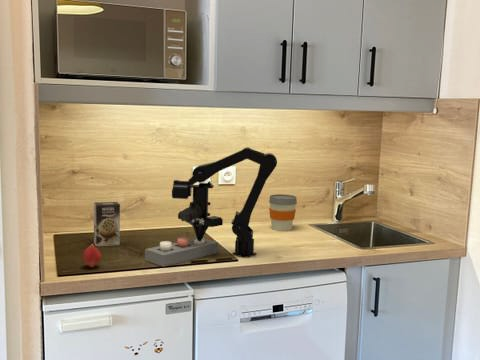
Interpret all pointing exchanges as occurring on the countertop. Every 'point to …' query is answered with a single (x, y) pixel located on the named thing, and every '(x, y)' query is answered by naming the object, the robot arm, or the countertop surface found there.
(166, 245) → the button pale left
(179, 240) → the button red middle
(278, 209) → the reusable coffee cup
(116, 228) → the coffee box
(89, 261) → the onion
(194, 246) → the button panel
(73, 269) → the countertop surface
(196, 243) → the button pale right
